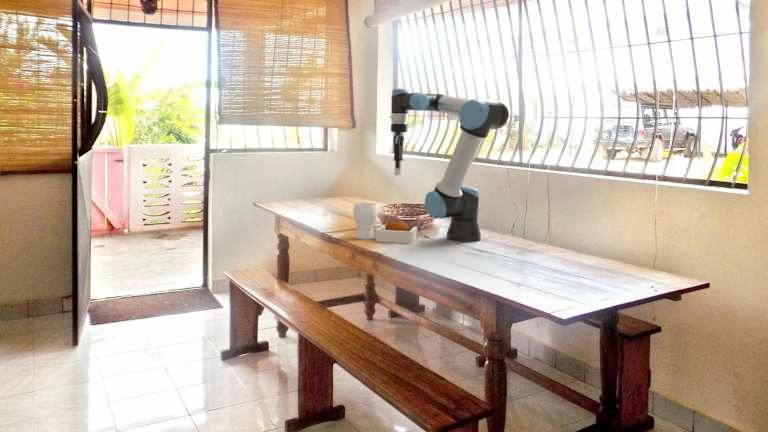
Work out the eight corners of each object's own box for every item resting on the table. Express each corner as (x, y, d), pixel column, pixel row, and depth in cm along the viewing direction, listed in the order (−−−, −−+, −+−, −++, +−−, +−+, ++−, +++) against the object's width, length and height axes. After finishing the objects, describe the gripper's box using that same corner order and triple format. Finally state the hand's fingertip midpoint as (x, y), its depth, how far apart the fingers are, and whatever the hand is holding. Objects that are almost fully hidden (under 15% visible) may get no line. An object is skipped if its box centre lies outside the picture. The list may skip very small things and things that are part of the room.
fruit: (413, 240, 273) (414, 222, 271) (393, 242, 267) (394, 223, 266) (399, 236, 281) (399, 218, 280) (380, 238, 276) (380, 220, 274)
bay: (383, 234, 283) (383, 219, 282) (417, 237, 280) (418, 221, 279) (375, 241, 268) (375, 225, 267) (411, 243, 265) (412, 227, 264)
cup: (374, 241, 269) (374, 206, 267) (350, 239, 271) (350, 205, 269) (379, 236, 279) (380, 203, 277) (356, 235, 281) (356, 201, 279)
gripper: (393, 123, 293) (392, 173, 296) (388, 123, 280) (387, 175, 284) (409, 123, 291) (408, 174, 295) (404, 123, 279) (403, 176, 282)
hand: (397, 174), depth 289 cm, fingers closed
